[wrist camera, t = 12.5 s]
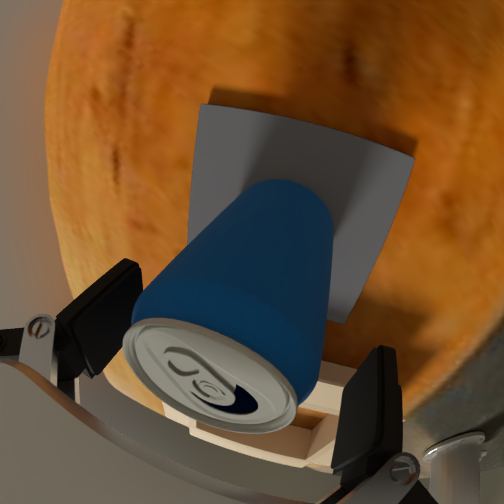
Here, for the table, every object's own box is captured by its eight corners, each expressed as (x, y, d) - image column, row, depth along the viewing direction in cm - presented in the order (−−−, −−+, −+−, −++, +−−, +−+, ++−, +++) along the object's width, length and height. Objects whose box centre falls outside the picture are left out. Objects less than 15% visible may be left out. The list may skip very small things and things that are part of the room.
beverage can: (272, 283, 20) (207, 437, 10) (215, 211, 18) (88, 338, 8) (353, 242, 16) (350, 428, 6) (293, 154, 15) (194, 266, 5)
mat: (410, 155, 14) (415, 158, 13) (344, 316, 20) (343, 324, 20) (207, 103, 16) (200, 103, 15) (191, 267, 22) (186, 274, 22)
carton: (422, 357, 20) (428, 401, 16) (328, 444, 33) (323, 471, 29) (175, 284, 24) (146, 320, 20) (181, 399, 37) (168, 424, 33)
